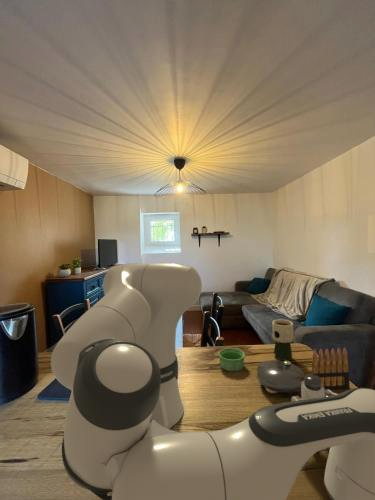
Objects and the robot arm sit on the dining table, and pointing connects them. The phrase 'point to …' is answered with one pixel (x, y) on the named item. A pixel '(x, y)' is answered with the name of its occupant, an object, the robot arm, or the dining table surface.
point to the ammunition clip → (331, 369)
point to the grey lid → (280, 376)
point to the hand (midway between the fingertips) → (309, 395)
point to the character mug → (282, 338)
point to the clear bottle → (311, 387)
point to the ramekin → (231, 359)
